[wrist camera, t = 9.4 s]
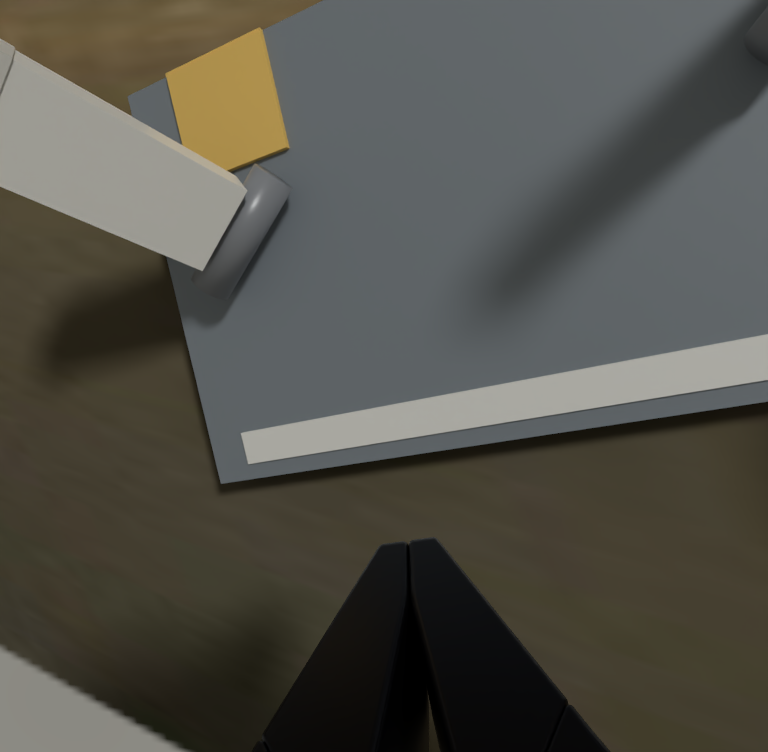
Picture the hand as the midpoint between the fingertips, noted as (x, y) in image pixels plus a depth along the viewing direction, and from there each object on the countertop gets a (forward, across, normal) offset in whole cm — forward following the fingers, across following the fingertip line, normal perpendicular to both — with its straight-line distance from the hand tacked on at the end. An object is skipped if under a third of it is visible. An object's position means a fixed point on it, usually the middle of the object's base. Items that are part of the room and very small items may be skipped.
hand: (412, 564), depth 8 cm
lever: (+12, +5, -4) cm, 14 cm away
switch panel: (+12, -4, -4) cm, 13 cm away
